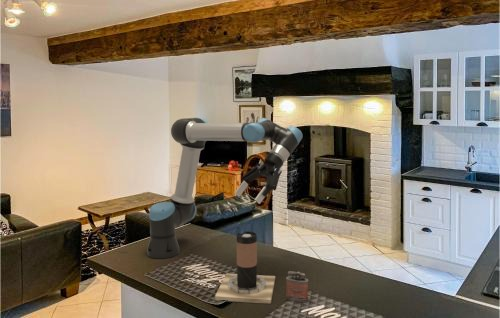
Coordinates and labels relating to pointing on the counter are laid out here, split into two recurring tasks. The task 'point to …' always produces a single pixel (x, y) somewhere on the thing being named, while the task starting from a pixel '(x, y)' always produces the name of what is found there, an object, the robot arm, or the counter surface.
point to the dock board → (259, 297)
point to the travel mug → (246, 259)
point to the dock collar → (246, 290)
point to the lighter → (297, 287)
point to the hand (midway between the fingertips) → (246, 198)
